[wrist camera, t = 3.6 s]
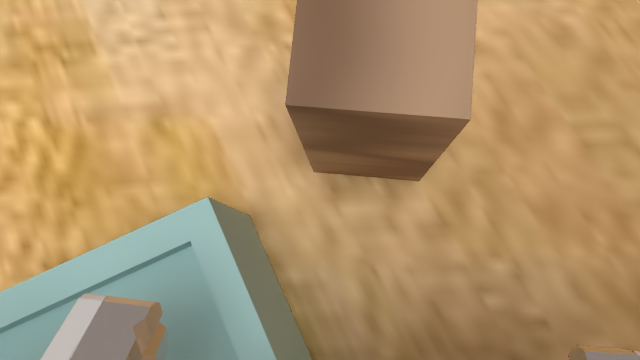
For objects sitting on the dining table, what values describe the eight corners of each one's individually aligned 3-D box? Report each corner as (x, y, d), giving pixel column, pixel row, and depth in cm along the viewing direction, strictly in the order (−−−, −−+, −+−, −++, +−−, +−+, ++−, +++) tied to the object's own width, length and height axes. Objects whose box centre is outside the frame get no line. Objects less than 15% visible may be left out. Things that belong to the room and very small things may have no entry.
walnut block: (426, 80, 23) (480, -54, 13) (418, 180, 23) (470, 119, 13) (324, 72, 24) (303, -63, 14) (314, 171, 23) (285, 104, 13)
